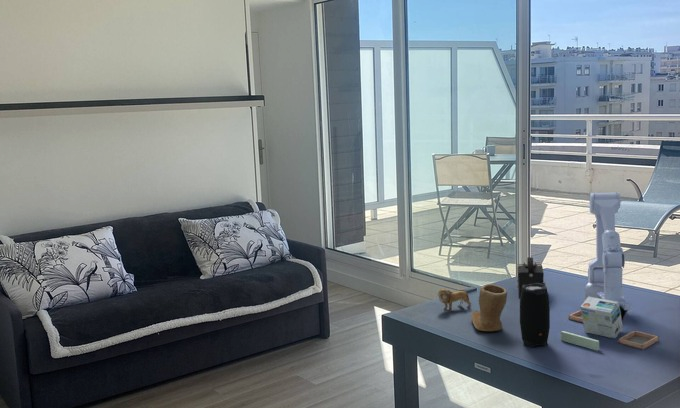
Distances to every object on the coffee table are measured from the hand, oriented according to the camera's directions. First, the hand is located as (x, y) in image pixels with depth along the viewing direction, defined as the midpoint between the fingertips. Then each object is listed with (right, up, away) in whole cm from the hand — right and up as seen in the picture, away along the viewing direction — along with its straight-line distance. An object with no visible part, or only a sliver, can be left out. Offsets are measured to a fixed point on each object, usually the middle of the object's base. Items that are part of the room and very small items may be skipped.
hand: (612, 324), depth 232 cm
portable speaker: (-29, -5, -9) cm, 31 cm away
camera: (-16, +4, +42) cm, 45 cm away
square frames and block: (-5, -2, -3) cm, 6 cm away
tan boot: (-40, -3, +9) cm, 41 cm away
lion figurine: (-49, 0, +30) cm, 57 cm away
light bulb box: (-4, -2, -3) cm, 6 cm away
